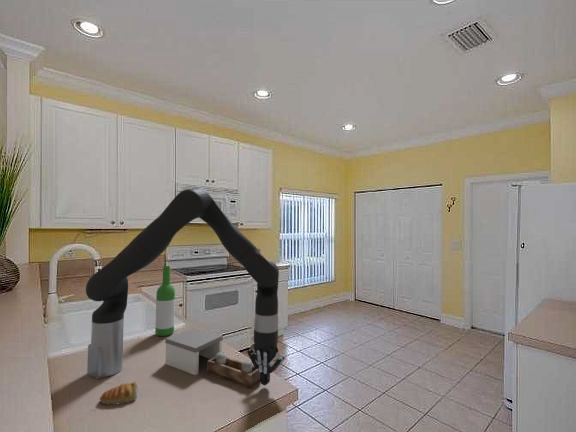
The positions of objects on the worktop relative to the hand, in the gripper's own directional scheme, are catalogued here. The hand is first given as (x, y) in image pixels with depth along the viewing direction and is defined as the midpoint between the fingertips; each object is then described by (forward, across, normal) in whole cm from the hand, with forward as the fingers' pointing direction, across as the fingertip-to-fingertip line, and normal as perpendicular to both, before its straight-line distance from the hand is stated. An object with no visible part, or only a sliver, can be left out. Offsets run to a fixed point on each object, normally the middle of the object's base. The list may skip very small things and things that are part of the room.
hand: (264, 383), depth 93 cm
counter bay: (+1, +31, 0) cm, 31 cm away
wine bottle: (+2, +62, -12) cm, 63 cm away
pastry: (+2, +31, +26) cm, 41 cm away
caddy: (+1, +12, 0) cm, 12 cm away
